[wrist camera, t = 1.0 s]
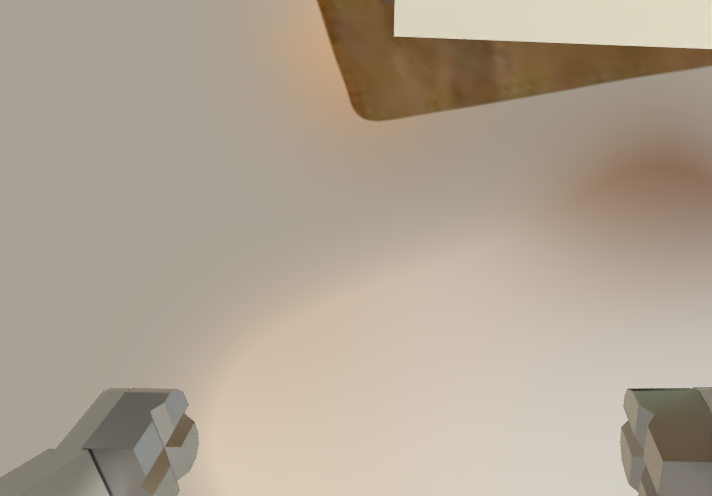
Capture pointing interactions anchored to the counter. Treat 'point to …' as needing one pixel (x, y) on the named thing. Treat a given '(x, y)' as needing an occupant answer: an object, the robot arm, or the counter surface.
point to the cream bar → (561, 21)
